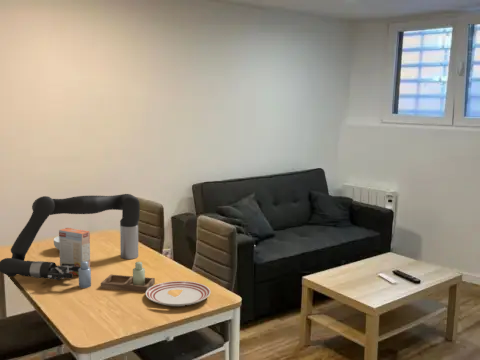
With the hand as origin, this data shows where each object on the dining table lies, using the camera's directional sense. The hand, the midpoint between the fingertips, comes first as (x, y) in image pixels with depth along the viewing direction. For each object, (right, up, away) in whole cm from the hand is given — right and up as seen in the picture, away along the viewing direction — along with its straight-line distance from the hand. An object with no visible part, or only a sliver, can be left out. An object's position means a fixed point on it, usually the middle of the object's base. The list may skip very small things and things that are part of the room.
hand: (77, 272), depth 226 cm
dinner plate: (+46, -9, -10) cm, 48 cm away
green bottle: (+28, -6, 0) cm, 28 cm away
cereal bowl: (-20, +3, +51) cm, 55 cm away
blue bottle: (+3, -6, 0) cm, 7 cm away
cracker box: (-6, -3, +17) cm, 18 cm away
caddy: (+23, -7, 0) cm, 24 cm away
